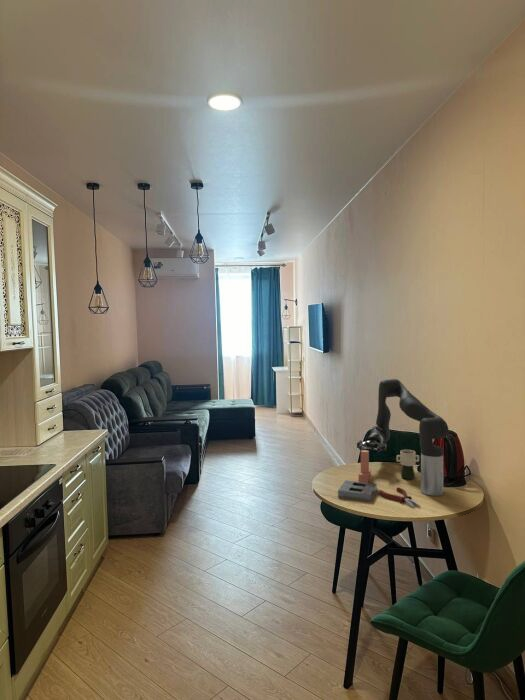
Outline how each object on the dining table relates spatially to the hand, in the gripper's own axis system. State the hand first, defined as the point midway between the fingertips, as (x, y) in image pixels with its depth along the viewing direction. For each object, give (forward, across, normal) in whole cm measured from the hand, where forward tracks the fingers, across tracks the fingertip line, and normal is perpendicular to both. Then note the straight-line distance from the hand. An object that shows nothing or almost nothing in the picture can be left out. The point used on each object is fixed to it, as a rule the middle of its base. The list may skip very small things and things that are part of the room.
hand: (369, 449), depth 228 cm
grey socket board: (+28, 0, +13) cm, 30 cm away
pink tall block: (+12, 0, +13) cm, 17 cm away
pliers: (+28, +18, +13) cm, 36 cm away
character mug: (-2, +18, +13) cm, 23 cm away
